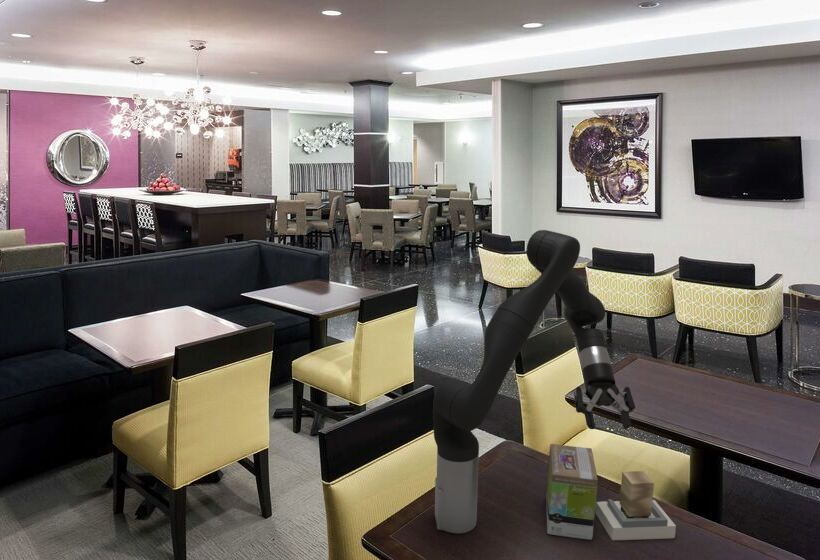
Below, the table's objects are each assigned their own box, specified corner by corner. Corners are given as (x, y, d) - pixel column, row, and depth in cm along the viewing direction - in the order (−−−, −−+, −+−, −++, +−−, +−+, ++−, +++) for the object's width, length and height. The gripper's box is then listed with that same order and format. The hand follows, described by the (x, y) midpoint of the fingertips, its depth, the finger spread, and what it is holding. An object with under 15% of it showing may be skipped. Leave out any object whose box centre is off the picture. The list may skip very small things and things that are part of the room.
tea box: (594, 541, 129) (598, 479, 126) (546, 535, 131) (550, 474, 128) (588, 502, 144) (592, 446, 141) (545, 497, 146) (548, 442, 143)
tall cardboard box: (628, 521, 131) (631, 483, 129) (619, 508, 136) (622, 471, 134) (650, 520, 131) (654, 483, 130) (640, 507, 136) (643, 471, 134)
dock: (612, 540, 129) (613, 521, 129) (595, 513, 139) (596, 495, 138) (674, 538, 130) (676, 519, 129) (653, 511, 140) (655, 494, 139)
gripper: (573, 361, 151) (585, 423, 142) (628, 361, 152) (644, 422, 143) (565, 373, 157) (576, 433, 148) (618, 373, 158) (632, 433, 149)
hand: (609, 428), depth 146 cm, fingers open, 8 cm apart
